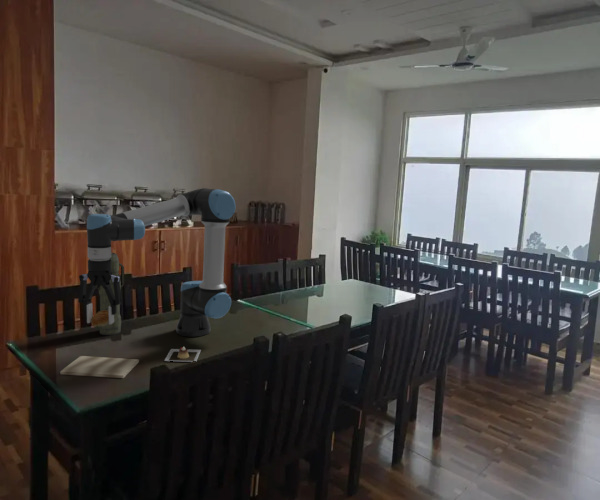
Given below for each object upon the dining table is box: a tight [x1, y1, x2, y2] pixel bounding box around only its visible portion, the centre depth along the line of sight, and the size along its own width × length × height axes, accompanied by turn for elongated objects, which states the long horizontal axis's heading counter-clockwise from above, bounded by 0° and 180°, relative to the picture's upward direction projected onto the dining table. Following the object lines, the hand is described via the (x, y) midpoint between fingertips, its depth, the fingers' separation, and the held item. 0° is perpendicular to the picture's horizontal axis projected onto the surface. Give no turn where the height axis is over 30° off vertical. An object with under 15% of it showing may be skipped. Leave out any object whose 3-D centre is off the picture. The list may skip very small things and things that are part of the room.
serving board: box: [59, 355, 140, 379], centre depth 165 cm, size 22×14×1 cm, turn 88°
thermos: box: [95, 252, 125, 336], centre depth 199 cm, size 9×12×35 cm
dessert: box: [164, 346, 202, 363], centre depth 179 cm, size 12×12×5 cm
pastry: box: [91, 310, 109, 327], centre depth 162 cm, size 9×7×4 cm
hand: (100, 322), depth 162 cm, fingers closed on pastry, 7 cm apart
